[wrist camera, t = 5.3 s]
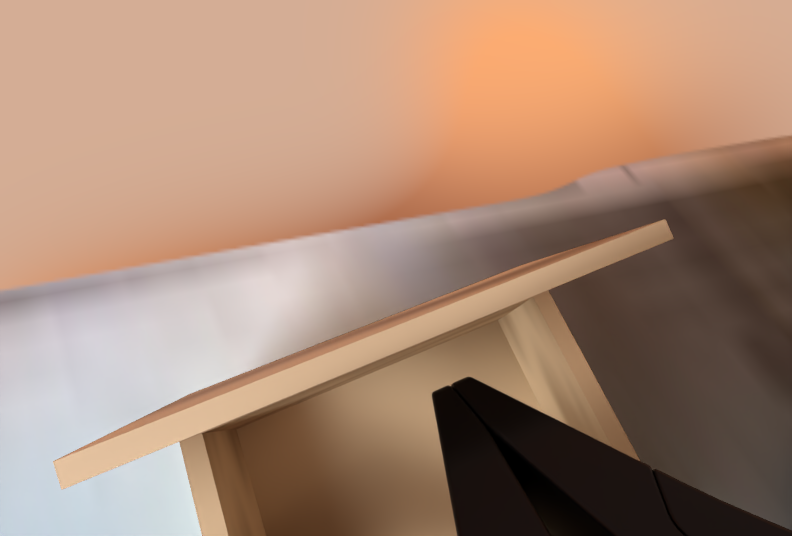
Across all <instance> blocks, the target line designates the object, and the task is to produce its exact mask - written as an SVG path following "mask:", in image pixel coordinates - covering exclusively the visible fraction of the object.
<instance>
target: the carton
mask: <svg viewBox="0 0 792 536" xmlns="http://www.w3.org/2000/svg"><path fill="white" fill-rule="evenodd" d="M465 377H472V378H474V379H476V380H478V381H480V382H482V383H484V384H486V385H488V386H490V387H492V388H494V389H496V390H498V391H500V392H502V393H504V394H506V395H508V396H510V397H512V398H514V399H516V400H518V401H520V402H522V403H524V404H526V405H528V406H530V407H532V408H534V409H536V410H538V411H540V412H542V413H544V414H546V415H549V416H551V417H553V418H555V419H557V420H559V421H561V422H563V423H565V424H567V425H569V426H571V427H573V428H575V429H577V430H579V431H581V432H583V433H585V434H587V435H589V436H591V437H593V438H595V439H597V440H599V441H601V442H603V443H605V444H607V445H609V446H611V447H613V448H615V449H617V450H619V451H621V452H623V453H625V454H627V455H629V456H631V457H633V458H635V459H637V460H639V461H640V459H639V458H638V456H637V454H636V452H635V450H634V448H633V446H632V445H631V443H630V441H629V439H628V437H627V435H626V433H625V432H624V430H623V428H622V426H621V424H620V422H619V421H618V419H617V417H616V415H615V413H614V411H613V409H612V408H611V406H610V404H609V402H608V400H607V398H606V396H605V395H604V393H603V391H602V389H601V387H600V385H599V384H598V382H597V380H596V378H595V376H594V374H593V372H592V371H591V369H590V367H589V365H588V363H587V361H586V359H585V358H584V356H583V354H582V352H581V350H580V348H579V347H578V345H577V343H576V341H575V339H574V337H573V335H572V334H571V332H570V330H569V328H568V326H567V324H566V322H565V321H564V319H563V317H562V315H561V313H560V311H559V310H558V308H557V306H556V304H555V302H554V300H553V298H552V297H551V295H550V293H549V291H548V290H547V291H544V292H542V293H540V294H537V295H535V296H532V297H530V298H527V299H525V300H523V301H520V302H518V303H515V304H513V305H510V306H508V307H505V308H503V309H501V310H498V311H496V312H493V313H491V314H488V315H486V316H484V317H481V318H479V319H476V320H474V321H471V322H469V323H467V324H464V325H462V326H459V327H457V328H454V329H452V330H449V331H447V332H445V333H442V334H440V335H437V336H435V337H432V338H430V339H428V340H425V341H423V342H420V343H418V344H415V345H413V346H411V347H408V348H406V349H403V350H401V351H398V352H396V353H393V354H391V355H389V356H386V357H384V358H381V359H379V360H376V361H374V362H372V363H369V364H367V365H364V366H362V367H359V368H357V369H355V370H352V371H350V372H347V373H345V374H342V375H340V376H337V377H335V378H333V379H330V380H328V381H325V382H323V383H320V384H318V385H316V386H313V387H311V388H308V389H306V390H303V391H301V392H298V393H296V394H294V395H291V396H289V397H286V398H284V399H281V400H279V401H277V402H274V403H272V404H269V405H267V406H264V407H262V408H260V409H257V410H255V411H252V412H250V413H247V414H245V415H242V416H240V417H238V418H235V419H233V420H230V421H228V422H225V423H223V424H221V425H218V426H216V427H213V428H211V429H208V430H206V431H204V432H201V433H199V434H196V435H194V436H191V437H189V438H186V439H184V440H182V441H179V442H180V446H181V450H182V454H183V458H184V462H185V467H186V471H187V475H188V479H189V483H190V487H191V491H192V495H193V500H194V504H195V508H196V512H197V516H198V520H199V524H200V528H201V533H202V536H457V532H456V526H455V521H454V516H453V510H452V505H451V499H450V494H449V488H448V483H447V477H446V472H445V466H444V461H443V455H442V450H441V445H440V439H439V434H438V428H437V423H436V417H435V412H434V406H433V401H432V392H434V391H436V390H438V389H440V388H442V387H445V386H447V385H449V386H451V385H452V383H454V382H456V381H458V380H460V379H463V378H465Z"/></svg>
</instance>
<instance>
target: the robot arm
mask: <svg viewBox="0 0 792 536" xmlns="http://www.w3.org/2000/svg"><path fill="white" fill-rule="evenodd" d="M432 401H433V406H434V412H435V417H436V423H437V428H438V434H439V439H440V445H441V450H442V455H443V461H444V466H445V472H446V477H447V483H448V488H449V494H450V499H451V505H452V510H453V516H454V521H455V526H456V532H457V536H792V530H789V529H787V528H784V527H782V526H780V525H777V524H775V523H772V522H770V521H767V520H765V519H763V518H760V517H758V516H756V515H753V514H751V513H749V512H747V511H744V510H742V509H740V508H737V507H735V506H733V505H730V504H728V503H726V502H723V501H721V500H719V499H717V498H715V497H713V496H710V495H708V494H706V493H704V492H702V491H700V490H698V489H696V488H694V487H692V486H689V485H687V484H685V483H683V482H681V481H679V480H677V479H675V478H673V477H671V476H669V475H667V474H665V473H663V472H661V471H659V470H657V469H653V470H652V469H651V467H650V466H649V465H647V464H645V463H643V462H641V461H639V460H637V459H635V458H633V457H631V456H629V455H627V454H625V453H623V452H621V451H619V450H617V449H615V448H613V447H611V446H609V445H607V444H605V443H603V442H601V441H599V440H597V439H595V438H593V437H591V436H589V435H587V434H585V433H583V432H581V431H579V430H577V429H575V428H573V427H571V426H569V425H567V424H565V423H563V422H561V421H559V420H557V419H555V418H553V417H551V416H549V415H546V414H544V413H542V412H540V411H538V410H536V409H534V408H532V407H530V406H528V405H526V404H524V403H522V402H520V401H518V400H516V399H514V398H512V397H510V396H508V395H506V394H504V393H502V392H500V391H498V390H496V389H494V388H492V387H490V386H488V385H486V384H484V383H482V382H480V381H478V380H476V379H474V378H472V377H465V378H463V379H460V380H458V381H456V382H454V383H452V385H451V386H449V385H447V386H445V387H442V388H440V389H438V390H436V391H434V392H432Z"/></svg>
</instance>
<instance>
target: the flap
mask: <svg viewBox="0 0 792 536" xmlns="http://www.w3.org/2000/svg"><path fill="white" fill-rule="evenodd" d="M671 239H673V236H672V233H671V231H670V229H669V227H668V224H667V222H666V220H665V219H664V220H661V221H658V222H655V223H652V224H649V225H646V226H643V227H639V228H636V229H633V230H630V231H627V232H624V233H621V234H617V235H614V236H611V237H608V238H605V239H602V240H599V241H596V242H592V243H589V244H586V245H583V246H580V247H577V248H574V249H571V250H567V251H564V252H561V253H558V254H555V255H552V256H549V257H545V258H542V259H539V260H536V261H533V262H530V263H527V264H524V265H520V266H518V267H515V268H513V269H510V270H508V271H505V272H502V273H500V274H497V275H495V276H492V277H490V278H487V279H484V280H482V281H479V282H477V283H474V284H472V285H469V286H466V287H464V288H461V289H459V290H456V291H454V292H451V293H448V294H446V295H443V296H441V297H438V298H436V299H433V300H431V301H428V302H425V303H423V304H420V305H418V306H415V307H413V308H410V309H407V310H405V311H402V312H400V313H397V314H395V315H392V316H389V317H387V318H384V319H382V320H379V321H377V322H374V323H371V324H369V325H366V326H364V327H361V328H359V329H356V330H353V331H351V332H348V333H346V334H343V335H341V336H338V337H335V338H333V339H330V340H328V341H325V342H323V343H320V344H317V345H315V346H312V347H310V348H307V349H305V350H302V351H299V352H297V353H294V354H292V355H289V356H287V357H284V358H281V359H279V360H276V361H274V362H271V363H269V364H266V365H263V366H261V367H258V368H256V369H253V370H251V371H248V372H245V373H243V374H240V375H238V376H235V377H233V378H230V379H228V380H225V381H222V382H220V383H217V384H215V385H212V386H210V387H207V388H204V389H202V390H199V391H197V392H194V393H192V394H189V395H187V396H185V397H183V398H181V399H179V400H177V401H175V402H173V403H171V404H169V405H167V406H165V407H163V408H161V409H159V410H157V411H154V412H152V413H150V414H148V415H146V416H144V417H142V418H140V419H138V420H136V421H134V422H132V423H130V424H128V425H126V426H124V427H122V428H120V429H118V430H116V431H114V432H112V433H110V434H108V435H106V436H104V437H102V438H100V439H98V440H96V441H94V442H92V443H90V444H88V445H86V446H84V447H81V448H79V449H77V450H75V451H73V452H71V453H69V454H67V455H65V456H63V457H61V458H59V459H57V460H55V461H53V463H54V466H55V470H56V473H57V476H58V479H59V483H60V486H61V489H65V488H67V487H70V486H72V485H74V484H77V483H79V482H82V481H84V480H87V479H89V478H92V477H94V476H96V475H99V474H101V473H104V472H106V471H109V470H111V469H113V468H116V467H118V466H121V465H123V464H126V463H128V462H130V461H133V460H135V459H138V458H140V457H143V456H145V455H148V454H150V453H152V452H155V451H157V450H160V449H162V448H165V447H167V446H169V445H172V444H174V443H177V442H179V441H182V440H184V439H186V438H189V437H191V436H194V435H196V434H199V433H201V432H204V431H206V430H208V429H211V428H213V427H216V426H218V425H221V424H223V423H225V422H228V421H230V420H233V419H235V418H238V417H240V416H242V415H245V414H247V413H250V412H252V411H255V410H257V409H260V408H262V407H264V406H267V405H269V404H272V403H274V402H277V401H279V400H281V399H284V398H286V397H289V396H291V395H294V394H296V393H298V392H301V391H303V390H306V389H308V388H311V387H313V386H316V385H318V384H320V383H323V382H325V381H328V380H330V379H333V378H335V377H337V376H340V375H342V374H345V373H347V372H350V371H352V370H355V369H357V368H359V367H362V366H364V365H367V364H369V363H372V362H374V361H376V360H379V359H381V358H384V357H386V356H389V355H391V354H393V353H396V352H398V351H401V350H403V349H406V348H408V347H411V346H413V345H415V344H418V343H420V342H423V341H425V340H428V339H430V338H432V337H435V336H437V335H440V334H442V333H445V332H447V331H449V330H452V329H454V328H457V327H459V326H462V325H464V324H467V323H469V322H471V321H474V320H476V319H479V318H481V317H484V316H486V315H488V314H491V313H493V312H496V311H498V310H501V309H503V308H505V307H508V306H510V305H513V304H515V303H518V302H520V301H523V300H525V299H527V298H530V297H532V296H535V295H537V294H540V293H542V292H544V291H547V290H549V289H552V288H554V287H557V286H559V285H561V284H564V283H566V282H569V281H571V280H574V279H576V278H579V277H581V276H583V275H586V274H588V273H591V272H593V271H596V270H598V269H600V268H603V267H605V266H608V265H610V264H613V263H615V262H617V261H620V260H622V259H625V258H627V257H630V256H632V255H635V254H637V253H639V252H642V251H644V250H647V249H649V248H652V247H654V246H656V245H659V244H661V243H664V242H666V241H669V240H671Z"/></svg>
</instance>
